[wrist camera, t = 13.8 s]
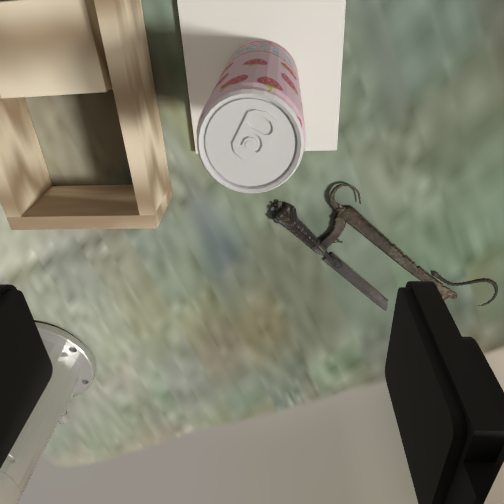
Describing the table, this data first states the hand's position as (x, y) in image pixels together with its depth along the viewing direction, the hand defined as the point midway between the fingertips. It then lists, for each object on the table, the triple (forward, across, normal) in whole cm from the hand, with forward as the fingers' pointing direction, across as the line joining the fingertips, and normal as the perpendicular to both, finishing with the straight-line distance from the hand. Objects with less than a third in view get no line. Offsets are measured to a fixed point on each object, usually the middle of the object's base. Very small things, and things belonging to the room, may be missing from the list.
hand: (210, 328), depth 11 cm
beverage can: (+28, 0, 0) cm, 28 cm away
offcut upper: (+26, +15, -4) cm, 30 cm away
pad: (+28, 0, -1) cm, 28 cm away
